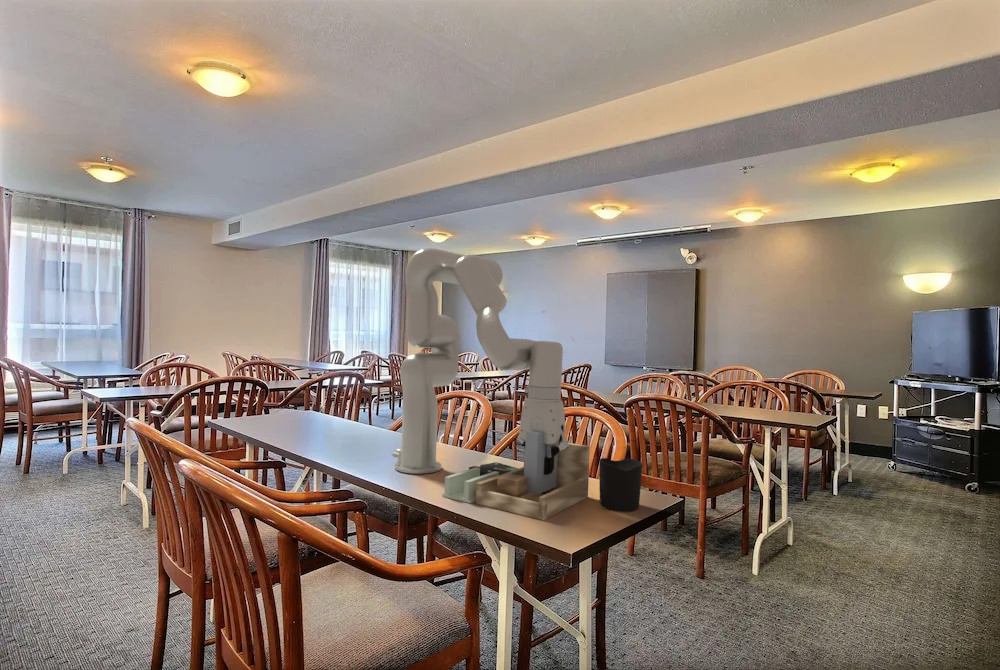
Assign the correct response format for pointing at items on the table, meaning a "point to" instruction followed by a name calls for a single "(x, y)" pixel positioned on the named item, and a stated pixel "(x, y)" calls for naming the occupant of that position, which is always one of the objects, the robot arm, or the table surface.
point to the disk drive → (494, 468)
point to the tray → (562, 496)
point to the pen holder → (620, 484)
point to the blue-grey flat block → (537, 464)
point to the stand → (465, 484)
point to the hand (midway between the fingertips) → (540, 471)
